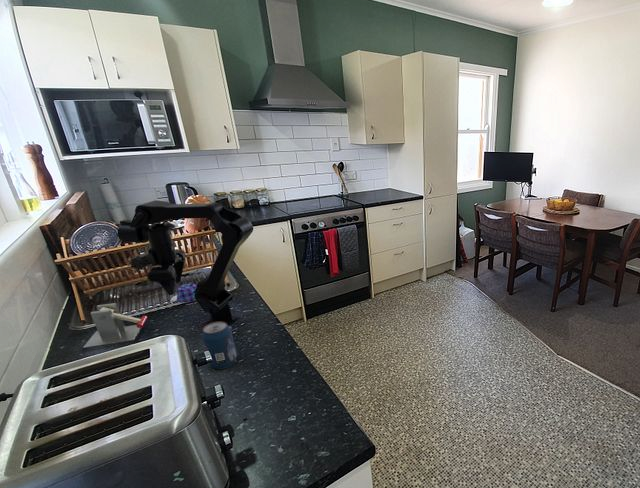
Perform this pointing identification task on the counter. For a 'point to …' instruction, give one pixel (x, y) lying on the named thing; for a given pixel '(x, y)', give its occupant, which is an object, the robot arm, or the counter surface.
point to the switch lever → (127, 317)
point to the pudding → (185, 293)
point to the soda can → (219, 344)
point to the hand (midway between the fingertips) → (174, 288)
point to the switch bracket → (110, 328)
